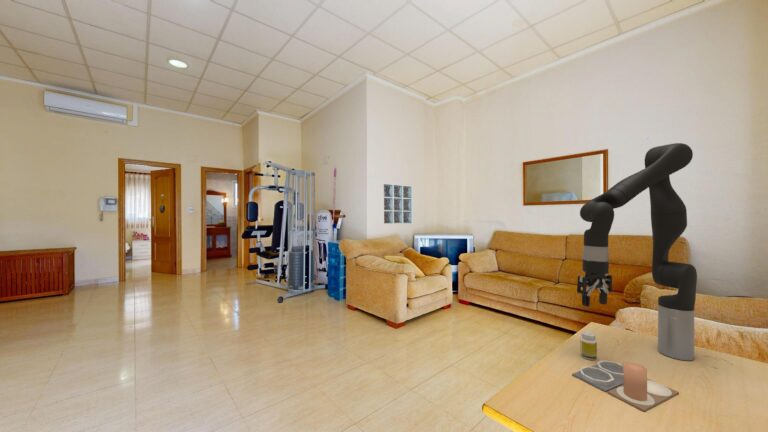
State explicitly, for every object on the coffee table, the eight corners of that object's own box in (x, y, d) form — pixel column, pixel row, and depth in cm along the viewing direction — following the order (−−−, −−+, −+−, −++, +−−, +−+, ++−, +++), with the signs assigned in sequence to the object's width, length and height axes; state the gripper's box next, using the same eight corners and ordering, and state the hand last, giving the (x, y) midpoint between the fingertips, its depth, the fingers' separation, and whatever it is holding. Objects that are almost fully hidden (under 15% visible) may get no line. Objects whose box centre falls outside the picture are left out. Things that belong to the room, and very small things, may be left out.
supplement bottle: (599, 361, 100) (599, 337, 100) (584, 359, 101) (584, 336, 101) (592, 354, 105) (592, 331, 105) (577, 353, 106) (577, 330, 106)
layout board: (606, 362, 99) (606, 337, 99) (678, 393, 82) (679, 362, 82) (572, 375, 92) (572, 347, 92) (644, 412, 75) (644, 378, 75)
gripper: (598, 256, 108) (597, 300, 108) (570, 258, 103) (569, 303, 103) (620, 260, 101) (619, 306, 101) (591, 261, 96) (590, 310, 96)
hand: (594, 305), depth 102 cm, fingers open, 8 cm apart
